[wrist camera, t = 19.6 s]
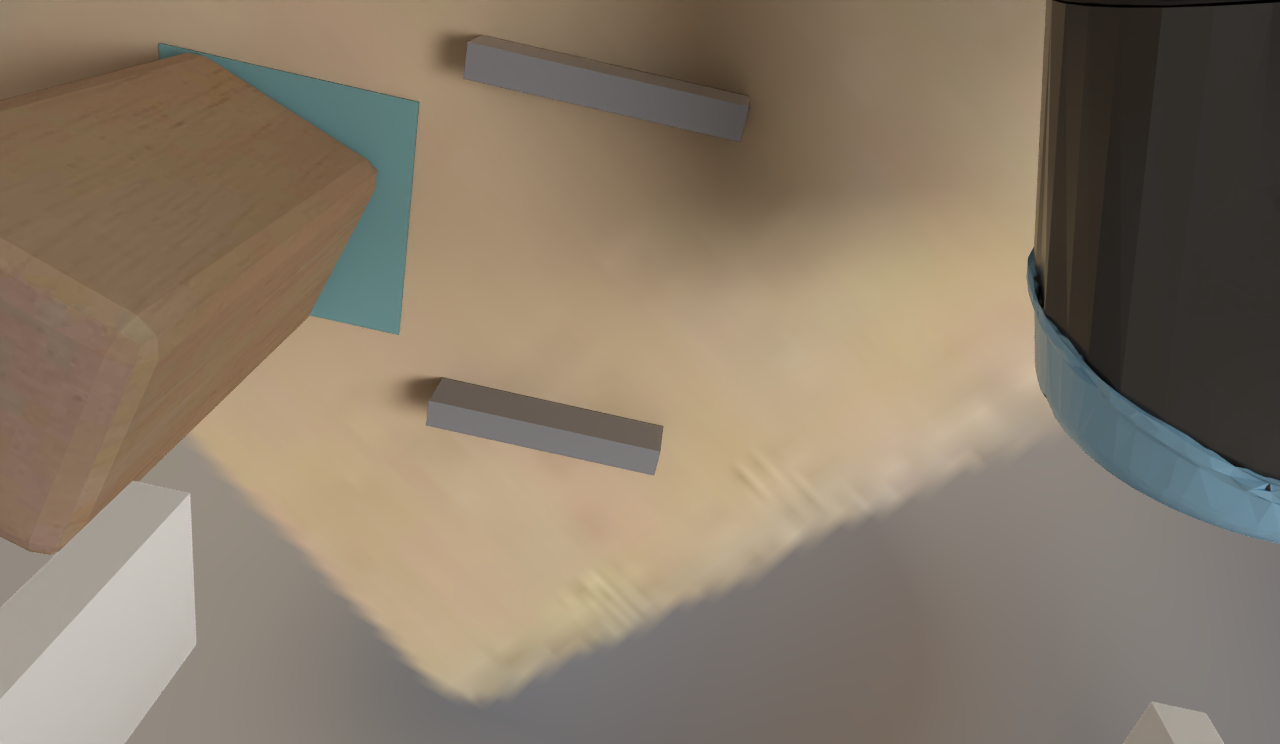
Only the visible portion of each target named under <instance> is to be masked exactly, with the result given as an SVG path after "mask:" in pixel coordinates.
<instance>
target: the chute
mask: <svg viewBox="0 0 1280 744" xmlns="http://www.w3.org/2000/svg"><path fill="white" fill-rule="evenodd" d="M464 79H466V80H471V81H475V82H479V83H484V84H488V85H493V86H497V87H501V88H506V89H510V90H514V91H519V92H523V93H528V94H532V95H536V96H541V97H545V98H549V99H554V100H558V101H563V102H567V103H571V104H576V105H580V106H584V107H589V108H593V109H598V110H602V111H606V112H611V113H615V114H619V115H624V116H628V117H633V118H637V119H641V120H646V121H650V122H654V123H659V124H663V125H668V126H672V127H676V128H681V129H685V130H689V131H694V132H698V133H703V134H707V135H711V136H716V137H720V138H724V139H729V140H733V141H738V142H741V138H742V134H743V130H744V126H745V122H746V118H747V115H748V111H749V100H748V96H746V95H741V94H737V93H733V92H728V91H724V90H720V89H715V88H711V87H707V86H702V85H698V84H694V83H689V82H685V81H681V80H676V79H672V78H668V77H663V76H659V75H654V74H650V73H646V72H641V71H637V70H633V69H628V68H624V67H620V66H615V65H611V64H607V63H602V62H598V61H594V60H589V59H585V58H580V57H576V56H572V55H567V54H563V53H559V52H554V51H550V50H546V49H541V48H537V47H533V46H528V45H524V44H520V43H515V42H511V41H507V40H502V39H498V38H493V37H489V36H485V35H481V36H479V37H477V38H475V39H473V40H471V41H469V42H467V51H466V60H465V70H464ZM426 425H427V426H431V427H436V428H441V429H445V430H450V431H454V432H459V433H463V434H468V435H472V436H477V437H481V438H486V439H491V440H495V441H500V442H504V443H509V444H513V445H518V446H522V447H527V448H531V449H536V450H541V451H545V452H550V453H554V454H559V455H563V456H568V457H572V458H577V459H581V460H586V461H591V462H595V463H600V464H604V465H609V466H613V467H618V468H622V469H627V470H631V471H636V472H641V473H645V474H650V475H654V474H655V470H656V466H657V462H658V458H659V455H660V450H661V441H662V432H663V426H659V425H654V424H650V423H645V422H641V421H636V420H632V419H627V418H622V417H618V416H613V415H609V414H604V413H600V412H595V411H591V410H586V409H582V408H577V407H573V406H568V405H564V404H559V403H555V402H550V401H546V400H541V399H537V398H532V397H528V396H523V395H519V394H514V393H510V392H505V391H500V390H496V389H491V388H487V387H482V386H478V385H473V384H469V383H464V382H460V381H455V380H451V379H446V378H442V379H441V381H440V383H439V384H438V386H437V388H436V389H435V391H434V393H433V394H432V396H431V397H430V399H429V402H428V411H427V421H426Z"/></svg>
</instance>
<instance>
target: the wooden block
mask: <svg viewBox="0 0 1280 744" xmlns="http://www.w3.org/2000/svg"><path fill="white" fill-rule="evenodd" d="M376 176H377V169H376V168H375V167H374V166H373V165H372V164H371V163H370V161H369V160H367V159H366V158H364V157H362V156H361V155H359V154H358V153H356V152H355V151H353V150H352V149H350V148H348V147H347V146H345V145H344V144H342V143H341V142H339V141H337V140H336V139H334V138H333V137H331V136H330V135H328V134H326V133H325V132H323V131H322V130H320V129H319V128H317V127H315V126H314V125H312V124H311V123H309V122H308V121H306V120H305V119H303V118H301V117H300V116H298V115H297V114H295V113H294V112H292V111H290V110H289V109H287V108H286V107H284V106H283V105H281V104H279V103H278V102H276V101H275V100H273V99H272V98H270V97H268V96H267V95H265V94H264V93H262V92H261V91H259V90H258V89H256V88H254V87H253V86H251V85H250V84H248V83H247V82H245V81H243V80H242V79H240V78H239V77H237V76H236V75H234V74H232V73H231V72H229V71H228V70H226V69H225V68H223V67H221V66H220V65H218V64H217V63H215V62H214V61H212V60H210V59H209V58H207V57H205V56H202V55H197V54H192V53H184V54H180V55H176V56H172V57H168V58H165V59H161V60H157V61H153V62H149V63H145V64H141V65H137V66H133V67H129V68H126V69H122V70H118V71H114V72H110V73H106V74H102V75H98V76H94V77H90V78H86V79H83V80H79V81H75V82H71V83H67V84H63V85H59V86H55V87H51V88H47V89H44V90H40V91H36V92H32V93H28V94H24V95H20V96H16V97H12V98H8V99H5V100H1V101H0V537H2V538H4V539H6V540H8V541H10V542H12V543H14V544H16V545H18V546H20V547H22V548H24V549H26V550H28V551H32V552H37V553H43V554H49V555H51V554H53V553H55V552H58V551H60V550H61V549H62V548H63V547H64V546H65V545H66V544H67V543H68V542H69V541H70V540H71V539H72V538H73V537H74V536H75V535H76V534H78V533H79V532H80V531H81V530H82V529H83V528H84V527H85V526H86V525H87V524H88V523H89V522H90V521H91V520H92V519H93V518H94V517H95V516H96V515H97V514H98V513H99V512H100V511H102V510H103V509H104V508H105V507H106V506H107V505H108V504H109V503H110V502H111V501H112V500H113V499H114V498H115V497H116V496H117V495H118V494H119V493H120V492H121V491H122V490H123V489H124V488H126V487H127V486H128V485H129V484H130V483H131V482H132V481H136V482H138V481H140V480H141V479H142V478H143V477H144V476H145V475H146V474H147V473H148V472H149V471H150V470H151V469H152V468H153V467H154V466H155V465H156V464H157V463H158V462H159V461H160V460H161V459H162V458H163V457H164V456H165V455H166V454H167V453H168V452H169V451H170V450H172V448H174V447H175V446H176V445H177V444H178V443H179V442H180V441H181V440H182V439H183V438H184V437H185V436H186V435H187V434H188V433H189V432H190V431H191V430H192V429H193V428H194V427H195V426H196V425H197V424H198V423H199V422H200V421H201V420H202V419H204V418H205V417H206V416H207V415H208V414H209V413H210V412H211V411H212V410H213V409H214V408H215V407H216V406H217V405H218V404H219V403H220V402H221V401H222V400H223V399H224V398H225V397H226V396H227V395H228V394H229V393H230V392H231V391H232V390H233V389H234V388H235V387H237V386H238V385H239V384H240V383H241V382H242V381H243V380H244V379H245V378H246V377H247V376H248V375H249V374H250V373H251V372H252V371H253V370H254V369H255V368H256V367H257V366H258V365H259V364H260V363H261V362H262V361H263V360H264V359H265V358H266V357H267V356H268V355H270V354H271V353H272V352H273V351H274V350H275V349H276V348H277V347H278V346H279V345H280V344H281V343H282V342H283V341H284V340H285V339H286V338H287V337H288V336H289V335H290V334H291V333H292V332H293V331H294V330H295V329H296V328H297V327H298V326H299V325H300V324H301V323H303V322H304V321H305V320H306V319H307V318H308V317H309V315H310V313H311V311H312V309H313V307H314V305H315V303H316V302H317V300H318V298H319V296H320V294H321V292H322V290H323V288H324V286H325V284H326V283H327V281H328V279H329V277H330V275H331V273H332V271H333V269H334V267H335V265H336V263H337V262H338V260H339V258H340V256H341V254H342V252H343V250H344V248H345V246H346V244H347V243H348V241H349V239H350V237H351V235H352V233H353V231H354V229H355V227H356V225H357V223H358V222H359V220H360V218H361V216H362V214H363V212H364V210H365V208H366V206H367V204H368V203H369V201H370V199H371V197H372V195H373V193H374V191H375V189H376Z"/></svg>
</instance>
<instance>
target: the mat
mask: <svg viewBox="0 0 1280 744" xmlns="http://www.w3.org/2000/svg"><path fill="white" fill-rule="evenodd" d="M184 53H192V54H197V55H202V56H205V57H207V58H209V59H210V60H212V61H214V62H215V63H217V64H218V65H220V66H221V67H223V68H225V69H226V70H228V71H229V72H231V73H232V74H234V75H236V76H237V77H239V78H240V79H242V80H243V81H245V82H247V83H248V84H250V85H251V86H253V87H254V88H256V89H258V90H259V91H261V92H262V93H264V94H265V95H267V96H268V97H270V98H272V99H273V100H275V101H276V102H278V103H279V104H281V105H283V106H284V107H286V108H287V109H289V110H290V111H292V112H294V113H295V114H297V115H298V116H300V117H301V118H303V119H305V120H306V121H308V122H309V123H311V124H312V125H314V126H315V127H317V128H319V129H320V130H322V131H323V132H325V133H326V134H328V135H330V136H331V137H333V138H334V139H336V140H337V141H339V142H341V143H342V144H344V145H345V146H347V147H348V148H350V149H352V150H353V151H355V152H356V153H358V154H359V155H361V156H362V157H364V158H366V159H367V160H369V161H370V163H371V164H372V165H373V166H374V167H375V168H376V169H377V176H376V189H375V191H374V193H373V195H372V197H371V199H370V201H369V203H368V204H367V206H366V208H365V210H364V212H363V214H362V216H361V218H360V220H359V222H358V223H357V225H356V227H355V229H354V231H353V233H352V235H351V237H350V239H349V241H348V243H347V244H346V246H345V248H344V250H343V252H342V254H341V256H340V258H339V260H338V262H337V263H336V265H335V267H334V269H333V271H332V273H331V275H330V277H329V279H328V281H327V283H326V284H325V286H324V288H323V290H322V292H321V294H320V296H319V298H318V300H317V302H316V303H315V305H314V307H313V309H312V311H311V313H310V315H311V316H316V317H320V318H325V319H329V320H334V321H338V322H343V323H347V324H352V325H356V326H361V327H365V328H370V329H374V330H379V331H383V332H388V333H392V334H397V335H399V330H400V318H401V307H402V295H403V283H404V272H405V260H406V249H407V237H408V226H409V214H410V203H411V191H412V179H413V168H414V156H415V145H416V133H417V122H418V110H419V102H416V101H412V100H408V99H403V98H399V97H394V96H390V95H386V94H381V93H377V92H372V91H368V90H364V89H359V88H355V87H350V86H346V85H342V84H337V83H333V82H329V81H324V80H320V79H315V78H311V77H307V76H302V75H298V74H293V73H289V72H285V71H280V70H276V69H271V68H267V67H263V66H258V65H254V64H250V63H245V62H241V61H236V60H232V59H228V58H223V57H219V56H214V55H210V54H206V53H201V52H197V51H192V50H188V49H184V48H179V47H175V46H171V45H166V44H162V43H159V60H161V59H165V58H168V57H172V56H176V55H180V54H184Z"/></svg>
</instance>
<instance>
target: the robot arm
mask: <svg viewBox="0 0 1280 744" xmlns="http://www.w3.org/2000/svg"><path fill="white" fill-rule="evenodd" d="M1027 284H1028V292H1029V296H1030V299H1031V302H1032V305H1033V308H1034V311H1035V367H1036V374H1037V378H1038V382H1039V385H1040V389H1041V391H1042V393H1043V395H1044V396H1045V397H1046V398H1047V400H1048V402H1049V405H1050V407H1051V409H1052V411H1053V414H1054V416H1055V418H1056V419H1057V421H1058V422H1059V423H1060V425H1061V427H1062V428H1063V430H1064V431H1065V432H1066V433H1067V435H1068V436H1069V437H1071V439H1072V440H1073V441H1074V442H1075V443H1076V444H1077V445H1078V446H1079V447H1080V448H1081V449H1082V450H1083V451H1084V452H1085V453H1086V454H1087V455H1088V456H1089V457H1090V458H1092V459H1093V460H1094V461H1095V462H1096V463H1098V464H1099V465H1100V466H1101V467H1103V468H1104V469H1105V470H1107V471H1108V472H1110V473H1111V474H1112V475H1114V476H1115V477H1117V478H1118V479H1120V480H1121V481H1123V482H1124V483H1126V484H1127V485H1129V486H1131V487H1132V488H1134V489H1136V490H1137V491H1140V492H1141V493H1143V494H1145V495H1147V496H1149V497H1151V498H1153V499H1154V500H1156V501H1158V502H1160V503H1162V504H1164V505H1166V506H1168V507H1170V508H1173V509H1175V510H1177V511H1179V512H1181V513H1184V514H1186V515H1188V516H1191V517H1193V518H1195V519H1198V520H1201V521H1204V522H1206V523H1209V524H1212V525H1214V526H1217V527H1220V528H1223V529H1226V530H1229V531H1232V532H1235V533H1239V534H1242V535H1245V536H1249V537H1252V538H1257V539H1261V540H1265V541H1270V542H1274V543H1279V544H1280V0H1046V16H1045V36H1044V56H1043V77H1042V97H1041V118H1040V138H1039V159H1038V179H1037V200H1036V220H1035V240H1034V248H1033V249H1032V251H1031V253H1030V255H1029V257H1028V266H1027ZM190 504H191V503H190V493H187V492H183V491H177V490H173V489H169V488H164V487H159V486H155V485H150V484H146V483H141V482H136V481H132V482H131V483H130V484H129V485H128V486H127V487H126V488H124V489H123V490H122V491H121V492H120V493H119V494H118V495H117V496H116V497H115V498H114V499H113V500H112V501H111V502H110V503H109V504H108V505H107V506H106V507H105V508H104V509H103V510H102V511H100V512H99V513H98V514H97V515H96V516H95V517H94V518H93V519H92V520H91V521H90V522H89V523H88V524H87V525H86V526H85V527H84V528H83V529H82V530H81V531H80V532H79V533H78V534H76V535H75V536H74V537H73V538H72V539H71V540H70V541H69V542H68V543H67V544H66V545H65V546H64V547H63V548H62V549H61V550H60V551H59V552H58V553H57V554H56V555H55V556H54V557H52V558H51V559H50V560H49V561H48V562H47V563H46V564H45V565H44V566H43V567H42V568H41V569H40V570H39V571H38V572H37V573H36V574H35V575H34V576H33V577H32V578H31V579H30V580H28V581H27V582H26V583H25V584H24V585H23V586H22V587H21V588H20V589H19V590H18V591H17V592H16V593H15V594H14V595H13V596H12V597H11V598H10V599H9V600H8V601H7V602H6V603H4V604H3V606H1V607H0V744H125V742H126V741H127V740H128V738H129V737H130V735H131V734H132V733H133V731H134V730H135V729H136V727H137V726H138V724H139V723H140V722H141V720H142V719H143V717H144V716H145V715H146V713H147V712H148V710H149V709H150V708H151V706H152V705H153V703H154V702H155V701H156V699H157V698H158V697H159V695H160V694H161V693H162V691H163V690H164V688H165V687H166V686H167V684H168V683H169V681H170V680H171V679H172V677H173V676H174V675H175V673H176V672H177V670H178V669H179V668H180V666H181V665H182V663H183V662H184V660H185V659H186V658H187V657H188V655H189V654H190V652H191V651H192V650H193V648H194V647H195V645H196V623H195V599H194V575H193V551H192V527H191V505H190ZM1123 744H1224V742H1223V741H1222V739H1221V737H1220V736H1219V734H1218V732H1217V731H1216V729H1215V727H1214V726H1213V724H1212V722H1211V721H1210V719H1209V718H1208V716H1207V714H1206V713H1203V712H1198V711H1193V710H1188V709H1184V708H1180V707H1175V706H1170V705H1165V704H1161V703H1156V702H1150V704H1149V706H1148V707H1147V709H1146V710H1145V712H1144V713H1143V714H1142V716H1141V717H1140V719H1139V720H1138V722H1137V723H1136V725H1135V726H1134V728H1133V729H1132V730H1131V732H1130V733H1129V735H1128V737H1127V738H1126V739H1125V741H1124V742H1123Z"/></svg>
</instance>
